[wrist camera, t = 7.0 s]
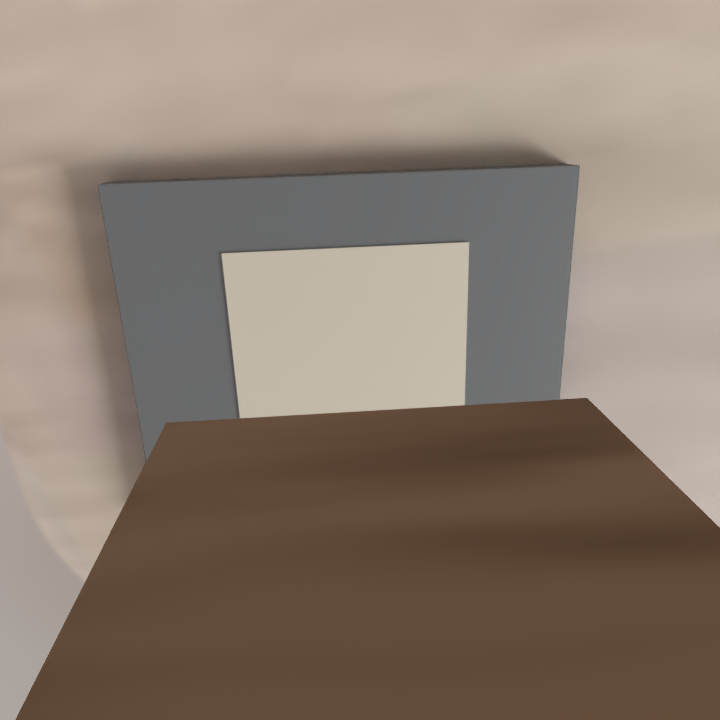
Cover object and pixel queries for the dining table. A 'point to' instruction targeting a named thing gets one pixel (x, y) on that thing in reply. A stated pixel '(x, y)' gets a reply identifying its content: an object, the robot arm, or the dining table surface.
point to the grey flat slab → (341, 290)
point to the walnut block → (396, 576)
